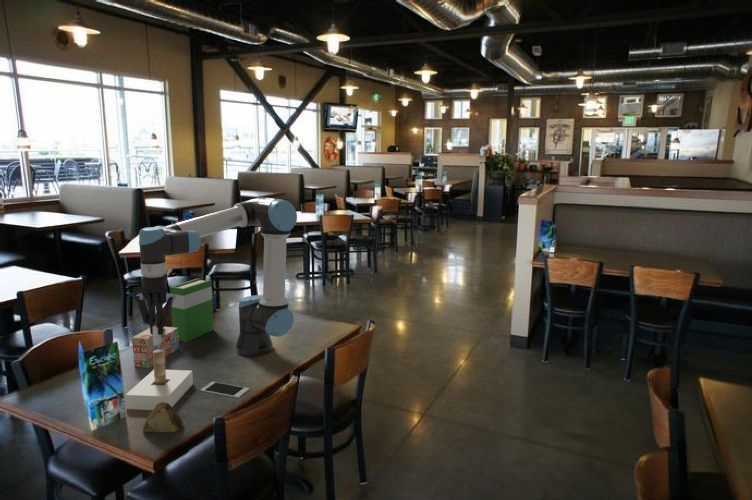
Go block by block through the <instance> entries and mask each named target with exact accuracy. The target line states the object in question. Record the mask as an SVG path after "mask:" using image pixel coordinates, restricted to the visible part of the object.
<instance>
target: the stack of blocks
mask: <svg viewBox="0 0 752 500" xmlns="http://www.w3.org/2000/svg"><path fill="white" fill-rule="evenodd" d="M155 350H164V353H165V358H166V357H168V356H170V355H171V354H172V353H174V352H176V351H177V350H180V341H179V335H178V328H175V327H172V326H163V334H162V335H161V343H160V344H159V345H153V335H151V333H150V327H149V328H147V329H145V330H143V331H142V332H140V333H138V334H136V335H134V336H133V337H132V353H133V365H134V366H133V367H134V368H135V367H136V368H142V369H150V368H152V367H154V363H153V351H155Z"/></svg>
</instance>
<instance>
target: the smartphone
mask: <svg viewBox="0 0 752 500" xmlns="http://www.w3.org/2000/svg"><path fill="white" fill-rule="evenodd" d="M249 390H250V388H249V387H244V386H238V385H233V384H227V383H222V382H216V381H211V382H209V383H208V384H207V385H205V386H203V387H202V388H201V389H200V392H203V393H208V394H214V395H219V396H220V395H221V396H223V397H224V396H225V397H228V398H229V397H230V398H235V399H239V398H241V397H242V396H243V395H245V394H246V393H247V392H249Z"/></svg>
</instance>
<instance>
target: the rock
mask: <svg viewBox="0 0 752 500" xmlns="http://www.w3.org/2000/svg"><path fill="white" fill-rule="evenodd" d="M184 427H185V424H184V421H183V420H182V418H181V416H180V415H179V414H178V413H177V411H176V410H175V408H174V407H172V406H170V405H169V404H168V403H165V402H161V403H159V404H157V405H156V407H155V408H154V409H153V410H151V412H150V413H149V414H148V416H147V418H146V420H145V423H144V425H143V429H142V431H143V432H148V433H149V432H151V433H176V432H178V431H180V430H182V429H183V428H184Z"/></svg>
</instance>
